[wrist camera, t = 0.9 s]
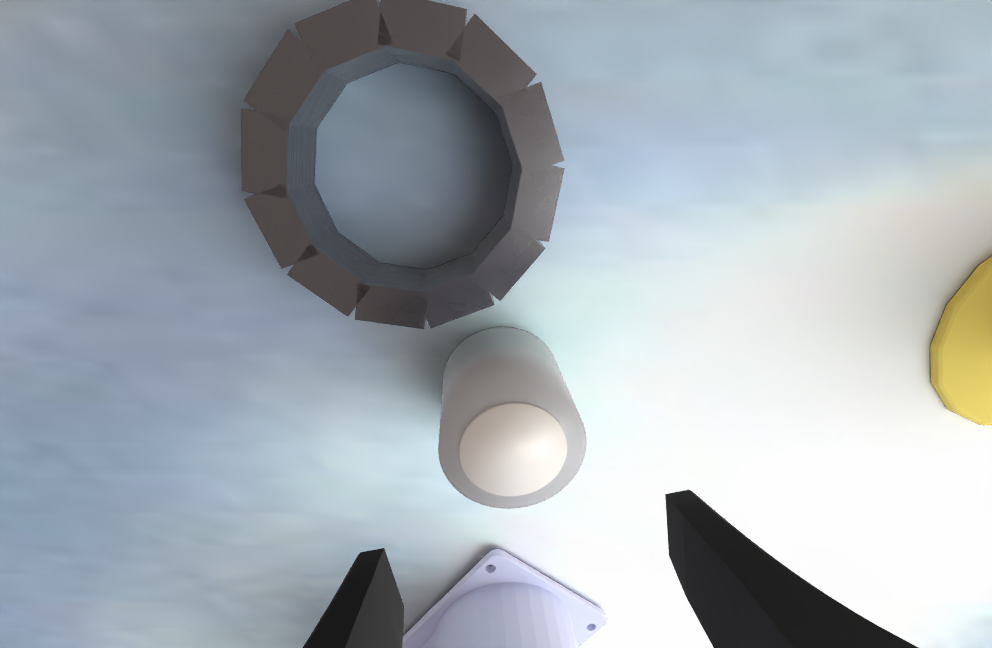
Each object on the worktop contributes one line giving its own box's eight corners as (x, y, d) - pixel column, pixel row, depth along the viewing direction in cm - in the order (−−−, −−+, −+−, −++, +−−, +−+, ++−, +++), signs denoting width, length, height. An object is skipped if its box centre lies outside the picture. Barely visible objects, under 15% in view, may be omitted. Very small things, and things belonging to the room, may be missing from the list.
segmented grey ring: (438, 343, 20) (434, 376, 17) (225, 191, 17) (180, 200, 15) (597, 156, 18) (623, 158, 15) (382, -51, 15) (365, -94, 12)
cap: (507, 448, 22) (521, 534, 17) (419, 389, 21) (407, 464, 16) (581, 371, 21) (618, 440, 16) (494, 303, 20) (505, 355, 15)
